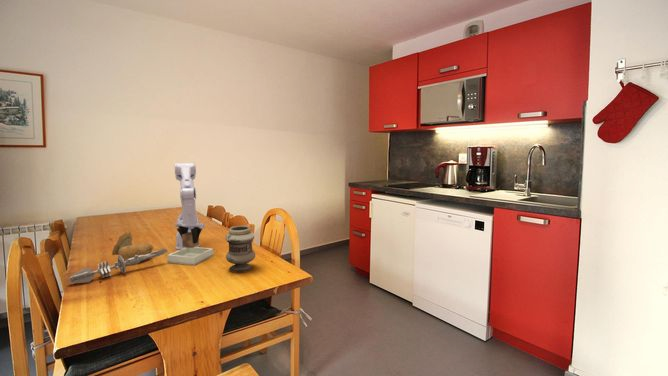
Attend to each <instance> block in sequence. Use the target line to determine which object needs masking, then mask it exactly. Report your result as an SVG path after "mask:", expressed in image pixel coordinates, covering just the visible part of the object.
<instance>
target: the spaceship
mask: <svg viewBox="0 0 668 376" xmlns="http://www.w3.org/2000/svg"><path fill="white" fill-rule="evenodd" d="M167 252H168V249H165V248H162V249H159V250H158V249H157V250H155V251H152V252H151V253H150V254H146V255H140V256H138V255H135V256H134V257H133V258H129V259H127V260H126V261H124V259H123V258H122V257H121V255H118V254H117V258H116V259H117V261H115V263H113V265H109V262H108V261H106V260H105V261H103V262H100V263H97V266H98V267H97V270H93V268H90V267H83V268H82V269H80V270H78V271H76V272H74V273H73V274H72V275H70V276H68V277H67V279H68V284H81V283H82V284H84V283H90V282H92V280H93V279H94V278H95V275H96V274H99V275H100V278H102V279H103V278H105V277H108V278H109V276H110V277H111V276H112V274H111V270H112V269H115V270H120V272H121V273H122V274H126V268H127V267H126V266H131V265H139V263H141V262H143V261H145V260H148V259H151V258H153V259H154V258H158V257H160V256H162V255H164V254H166V253H167Z"/></svg>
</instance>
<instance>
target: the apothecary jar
mask: <svg viewBox="0 0 668 376" xmlns="http://www.w3.org/2000/svg"><path fill="white" fill-rule="evenodd" d="M254 239H255V234H254V232H253V231H251V226H249V225H235V226H232V227H230V228H229V230H228V233H227V234H226V235H225V242H227V243H228V252H227V253H226V255H225V260H226V261H227V262H229V263H230V264H232V265H231V266H230V267H229V268H228V271H229V272H231V273H236V274H237V273H238V274H239V273H247V272H250V271H252V270H253V268H254V266H253V265H252V264H250V263H251V262H252V261H253V260H254V259H255V258H256V252H255V251H254V250H253V240H254Z"/></svg>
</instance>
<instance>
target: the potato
mask: <svg viewBox="0 0 668 376" xmlns="http://www.w3.org/2000/svg"><path fill="white" fill-rule="evenodd" d="M153 249H154V246H153V245H152V244H151V243H146V242H143V243H142V242H141V243H134V244H132V245H129V246H124V247H122V248H120V249H119V251H118V254H117V256H118V255H121V257H122V258H123V259H124V261H126V260H127V259H129V258H133V257H134V256H135V255H138V256H140V255H146V254H150V253H152V252H153Z"/></svg>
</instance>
